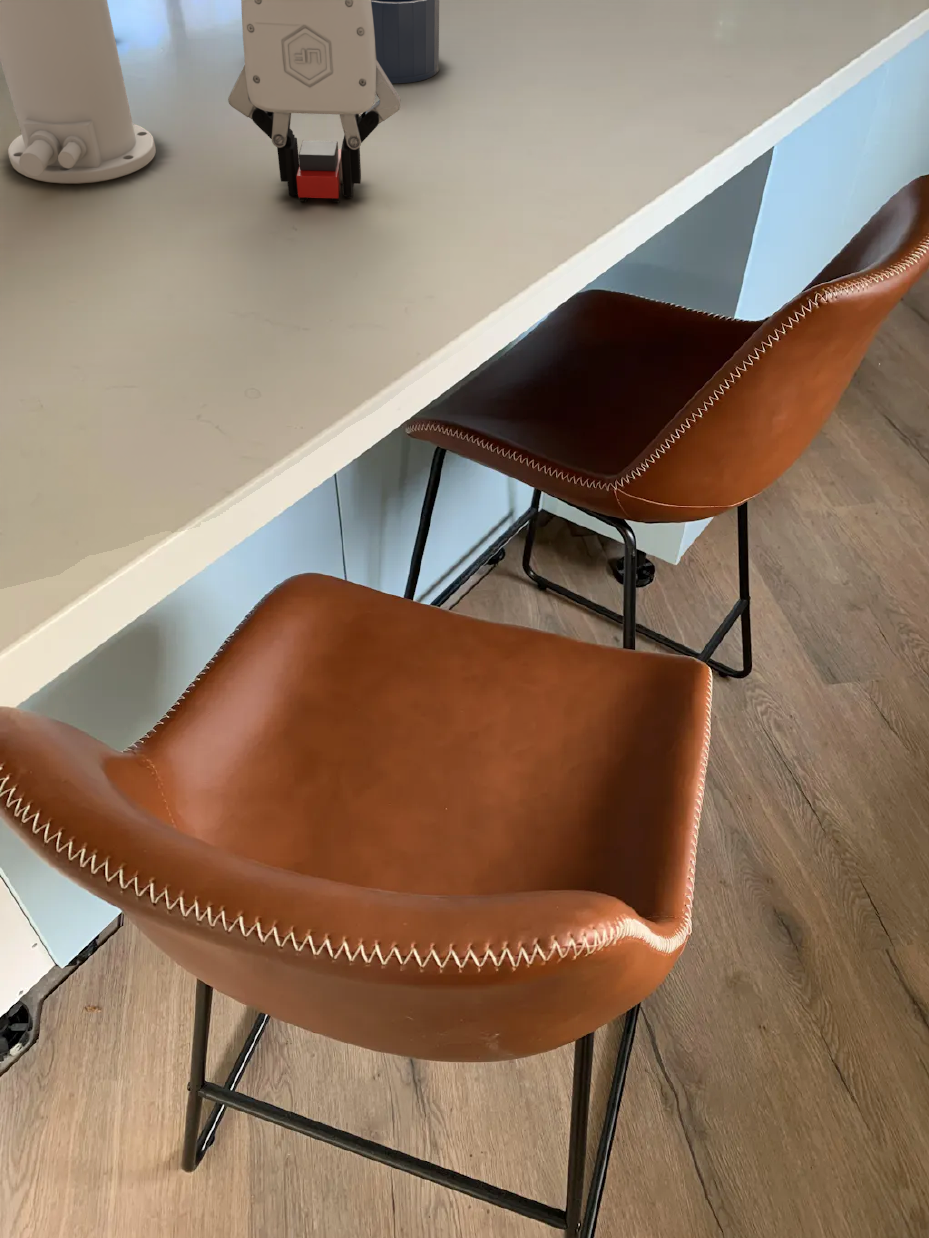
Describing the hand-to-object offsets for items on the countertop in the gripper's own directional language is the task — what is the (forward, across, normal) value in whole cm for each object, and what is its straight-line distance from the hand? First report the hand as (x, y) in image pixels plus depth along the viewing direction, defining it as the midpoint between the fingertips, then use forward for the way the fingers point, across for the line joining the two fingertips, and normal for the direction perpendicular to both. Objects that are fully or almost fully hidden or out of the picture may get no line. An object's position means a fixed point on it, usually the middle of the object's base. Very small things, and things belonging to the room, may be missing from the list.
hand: (321, 188), depth 83 cm
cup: (0, +5, +33) cm, 33 cm away
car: (0, 0, 0) cm, 0 cm away
